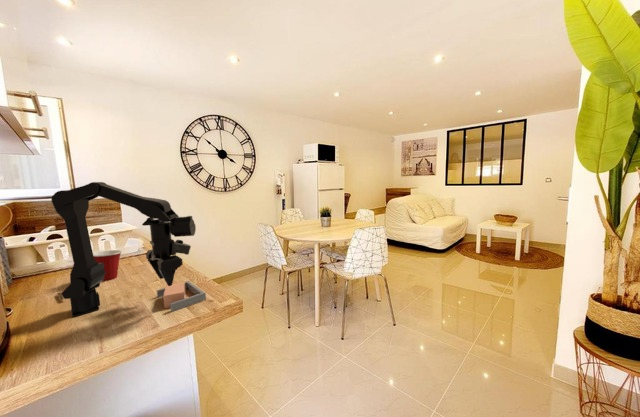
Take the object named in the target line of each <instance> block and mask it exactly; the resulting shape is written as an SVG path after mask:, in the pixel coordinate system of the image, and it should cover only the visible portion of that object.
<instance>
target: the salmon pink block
mask: <svg viewBox="0 0 640 417" xmlns="http://www.w3.org/2000/svg"><path fill="white" fill-rule="evenodd" d="M185 282H186V281H181V282H176V283H172V285H171V286H168V285H167V284H165V287H164V288H165V292H164V296H162V297H163V307H164V309H167V308H170V303H173V302H176V301H179V300H182V299H185V298H186V296H187V295H186V289H185Z"/></svg>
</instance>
